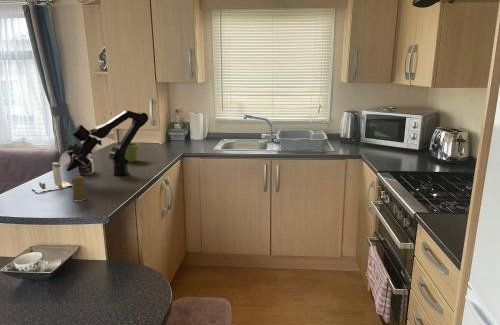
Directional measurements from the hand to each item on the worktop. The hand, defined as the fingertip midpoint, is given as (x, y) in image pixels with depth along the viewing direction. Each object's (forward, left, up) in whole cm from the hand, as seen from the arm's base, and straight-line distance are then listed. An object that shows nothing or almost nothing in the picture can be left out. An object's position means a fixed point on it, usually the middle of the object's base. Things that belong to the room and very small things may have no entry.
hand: (67, 170), depth 186 cm
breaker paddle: (+3, +4, -6) cm, 8 cm away
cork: (-21, +20, -8) cm, 30 cm away
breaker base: (+5, +7, -7) cm, 11 cm away
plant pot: (-4, -54, -8) cm, 55 cm away
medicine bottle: (+6, -23, -8) cm, 25 cm away
